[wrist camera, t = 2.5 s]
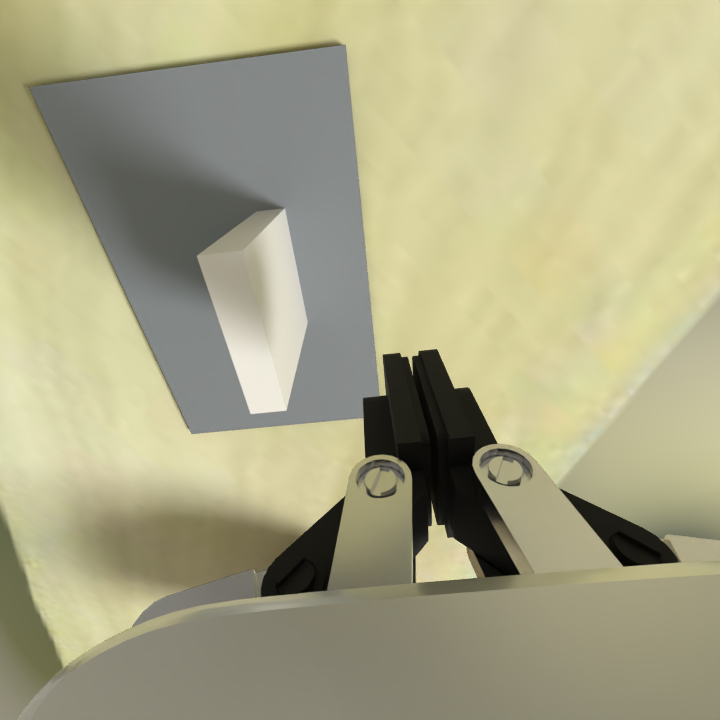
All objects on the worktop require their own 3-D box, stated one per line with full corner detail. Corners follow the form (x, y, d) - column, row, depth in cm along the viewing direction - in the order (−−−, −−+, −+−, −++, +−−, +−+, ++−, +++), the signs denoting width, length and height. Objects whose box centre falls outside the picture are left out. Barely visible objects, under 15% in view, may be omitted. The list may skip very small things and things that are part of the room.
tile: (253, 211, 20) (192, 256, 12) (284, 208, 20) (242, 250, 12) (281, 325, 24) (247, 414, 16) (307, 322, 24) (286, 410, 16)
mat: (35, 88, 17) (28, 87, 17) (345, 46, 17) (345, 44, 16) (193, 430, 29) (191, 434, 28) (380, 412, 28) (381, 416, 28)
